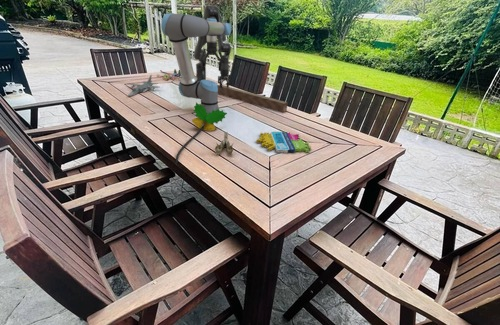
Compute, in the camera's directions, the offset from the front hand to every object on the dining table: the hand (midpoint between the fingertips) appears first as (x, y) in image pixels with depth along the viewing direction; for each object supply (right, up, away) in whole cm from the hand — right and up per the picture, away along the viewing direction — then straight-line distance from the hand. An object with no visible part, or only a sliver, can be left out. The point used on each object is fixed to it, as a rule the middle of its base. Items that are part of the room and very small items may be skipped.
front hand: (211, 71), depth 208 cm
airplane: (-64, -10, +23) cm, 68 cm away
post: (+30, -21, +14) cm, 39 cm away
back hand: (+8, -6, +26) cm, 28 cm away
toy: (-54, +19, +75) cm, 95 cm away
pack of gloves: (+49, -62, -55) cm, 96 cm away
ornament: (+5, -52, -43) cm, 67 cm away
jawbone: (+17, -67, -69) cm, 98 cm away
